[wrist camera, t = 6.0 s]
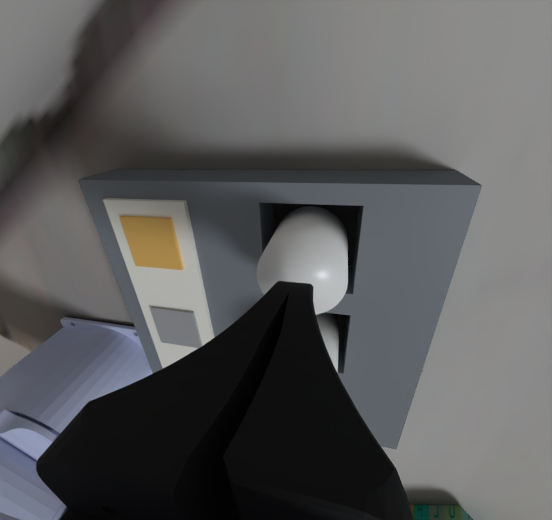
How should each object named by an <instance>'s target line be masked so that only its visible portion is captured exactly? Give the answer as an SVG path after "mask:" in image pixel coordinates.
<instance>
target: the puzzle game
mask: <svg viewBox="0 0 552 520" xmlns="http://www.w3.org/2000/svg"><path fill="white" fill-rule="evenodd" d="M410 508H411V511H412V514H413V518H414V520H473V519H472V518H471V517H470V516H469V515H468V514H467V513H466V511H465V510H464V509H463V508H462V507H461V506H460V505H410Z"/></svg>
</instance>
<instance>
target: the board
mask: <svg viewBox="0 0 552 520" xmlns="http://www.w3.org/2000/svg"><path fill="white" fill-rule="evenodd" d="M78 181H79V183H80V186H81V189H82V191H83V194H84V196H85V199H86V202H87V204H88V207H89V209H90V212H91V214H92V217H93V220H94V222H95V225H96V227H97V230H98V233H99V235H100V238H101V240H102V243H103V246H104V248H105V251H106V253H107V256H108V259H109V261H110V264H111V266H112V269H113V271H114V274H115V277H116V279H117V282H118V284H119V287H120V290H121V292H122V295H123V297H124V300H125V303H126V305H127V308H128V310H129V313H130V316H131V318H132V321H133V323H134V326H135V328H136V331H137V334H138V336H139V339H140V341H141V344H142V347H143V349H144V352H145V354H146V357H147V360H148V362H149V365H150V367H151V370H152V373H155V372H157V371H159V370H161V369H163V368H165V367H167V366H169V365H171V364H173V363H174V362H176V361H178V360H180V359H181V358H183V357H185V356H186V355H188V354H190V353H191V352H193V351H195V350H196V349H198V348H200V347H201V346H203V345H204V344H206V343H207V342H209V341H210V340H212V339H213V338H215V337H216V336H217V335H219V334H220V333H221V332H223V331H224V330H225V329H227V328H228V327H229V326H230V325H232V324H233V323H234V322H235V321H236V320H238V319H239V318H240V317H241V316H242V315H243V314H245V313H246V312H247V311H248V310H249V309H250V308H251V307H252V306H253V305H254V304H255V303H256V302H258V301H259V300H260V299H261V298H262V297H263V296H264V294H263V292H262V291H261V289H260V287H259V284H258V281H257V265H258V262H259V259H260V257H261V256H262V254H263V252H264V250H265V248H266V247H267V245H268V243H269V241H270V240H271V238H272V236H273V234H274V233H275V222H274V203H287V204H320V205H353V206H359V210H358V219H357V228H356V237H355V246H354V255H353V264H352V267H349V266H348V286H347V290H346V293H345V295H344V297H343V298H342V300H341V301H340V302H339V303H338V304H337V305H336V306H335V307H333V308H332V309H330V310H329V311H327V312H325V313H334V314H342V315H347V318H346V327H345V336H344V341H343V340H339V347H338V375H339V378H340V380H341V382H342V383H343V385H344V387H345V389H346V391H347V392H348V394H349V396H350V398H351V400H352V401H353V403H354V405H355V407H356V409H357V410H358V412H359V413H360V415H361V417H362V418H363V420H364V422H365V423H366V425H367V426H368V428H369V430H370V431H371V433H372V434H373V436H374V437H375V439H376V440H377V442H378V443H379V445H380V446H383V447H388V448H392V449H397V446H398V442H399V439H400V436H401V433H402V430H403V427H404V424H405V421H406V418H407V415H408V412H409V409H410V406H411V402H412V399H413V396H414V393H415V390H416V387H417V384H418V381H419V378H420V375H421V372H422V369H423V365H424V362H425V359H426V356H427V353H428V350H429V347H430V344H431V341H432V338H433V335H434V332H435V328H436V325H437V322H438V319H439V316H440V313H441V310H442V307H443V304H444V301H445V298H446V295H447V291H448V288H449V285H450V282H451V279H452V276H453V273H454V270H455V267H456V264H457V261H458V258H459V255H460V251H461V248H462V245H463V242H464V239H465V236H466V233H467V230H468V227H469V224H470V221H471V218H472V214H473V211H474V208H475V205H476V202H477V199H478V196H479V193H480V190H481V187H482V185H480V184H479V183H477V182H475V181H474V180H472V179H470V178H469V177H467V176H465V175H464V174H462V173H460V172H459V171H457V170H185V169H116V170H112V171H108V172H105V173H101V174H98V175H94V176H91V177H87V178H83V179H80V180H78Z"/></svg>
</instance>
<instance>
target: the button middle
mask: <svg viewBox="0 0 552 520" xmlns="http://www.w3.org/2000/svg"><path fill="white" fill-rule="evenodd" d="M316 318H317V322H318V325H319V329H320V332H321V335H322V338H323V341H324V343H325V346H326V349H327V351H328V354H329V356H330V358H331V360H332V363H333V365H334V367H335V369H336V371H337V373H338V347H339V326H338V323H337V321H336V319H335V318H334V317H333V316H332V315H331V314H330V313H325V312H324V313H321V314H317V315H316Z"/></svg>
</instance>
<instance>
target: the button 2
mask: <svg viewBox="0 0 552 520" xmlns="http://www.w3.org/2000/svg"><path fill="white" fill-rule="evenodd" d="M257 281H258V284H259V287H260V289H261V291H262V292H263V294H264V295H265V294H266V293H267V292H268V290H269V289H270V288H271V287H272V286H273V285H274V284H275V283H276V282H278V281H287V282H297V283H308V284H311V285H312V286H313V287H314V288H313V303H314V309H315V314H316V315H317V314H321V313H324V312H327V311H329V310H330V309H332V308H333V307H335V306H336V305H337V304H338V303H339V302H340V301H341V300H342V298H343V297H344V295H345V293H346V290H347V286H348V237H347V232H346V229H345V227H344V225H343V223H342V222H341V220H340V219H339V218H338V217H337V216H336V215H334V214H333V213H332V212H330V211H328V210H326V209H323V208H320V207H313V206H308V207H301V208H298V209H295V210H293V211H292V212H290V213H289V214H287V215H286V216H285V217H284V218H283V219H282V221H281V222H280V224H279V226H278V227H277V229H276V231H275V233H274V234H273V236H272V238H271V240H270V241H269V243H268V245H267V247H266V248H265V250H264V252H263V254H262V256H261V257H260V259H259V262H258V265H257Z"/></svg>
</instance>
